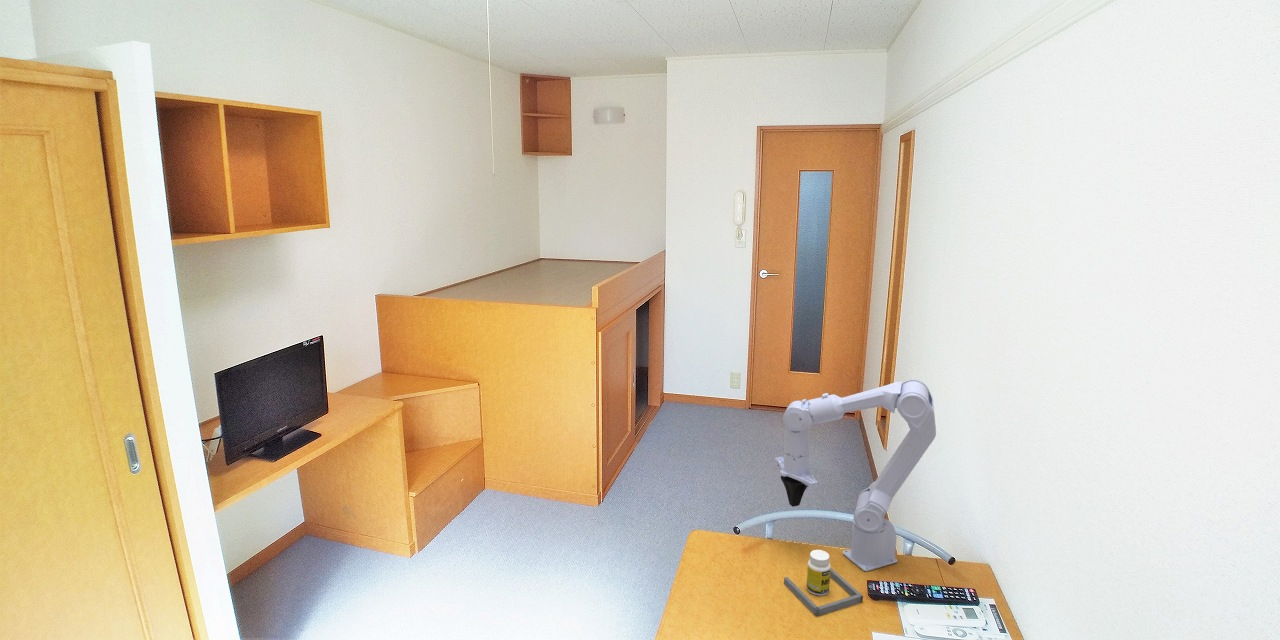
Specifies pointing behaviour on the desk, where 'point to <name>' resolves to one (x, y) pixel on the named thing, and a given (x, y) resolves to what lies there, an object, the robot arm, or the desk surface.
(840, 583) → the corral
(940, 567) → the desk surface
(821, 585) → the supplement bottle
